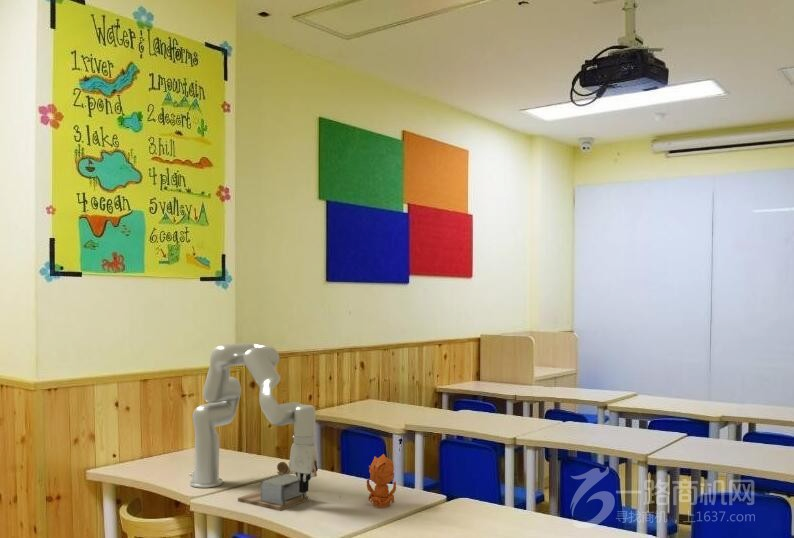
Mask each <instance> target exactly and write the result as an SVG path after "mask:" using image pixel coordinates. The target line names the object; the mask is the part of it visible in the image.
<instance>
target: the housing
mask: <svg viewBox="0 0 794 538" xmlns="http://www.w3.org/2000/svg"><path fill="white" fill-rule="evenodd" d="M260 490H261V501H264V502H268V503H273V504H277V505H282V506H283V505H284V501H286V500H288V499H291V498H294V497H297V496H300V495H303V497H304V498H305V497H306V496H307V492H305V493H302V492H299V481H298V477H297V476H296V475H295V474H294V475H293V474H290V473H289V474H282V475H279V474H278V475H276V476H273V477H270V478H268V479H264V480H260Z"/></svg>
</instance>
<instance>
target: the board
mask: <svg viewBox="0 0 794 538" xmlns="http://www.w3.org/2000/svg"><path fill="white" fill-rule="evenodd" d="M306 501H309V496H307V495H306V497H305V498H304V497H303V495H300V496H297V497H294V498H291V499H288V500H286V501H284V505H283V506H282V505H277V504H273V503H268V502H264V501H261V489H260V490H258V491H254V492H251V493H249V494H246V495H243V496H240V497H237V502H240V503H245V504H248V505H252V506H258V507H261V508H267V509H271V510H274V511H282V510H284V509H288V508H290V507H293V506H296V505H298V504H300V503H303V502H306Z"/></svg>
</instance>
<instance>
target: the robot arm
mask: <svg viewBox="0 0 794 538" xmlns="http://www.w3.org/2000/svg"><path fill="white" fill-rule="evenodd" d="M279 362H280V355H279V353H278V351H277V350H276V349H275V348H274V347H273V346H270V345H264V344H259V343H253V342H251V343H250V342H249V343H247V342H246V343H231V344H221V345H216V346H215V347H214V348H213V350H212V351H211V353H210V359H209V367H208V372H207V375H206V379H205V383H204V385H203V389H202V398H203V400H204V401H205V402H207V403H204V404H200V405H198V406H197V407H195V409H194V410H193V412H192V422H193V429H194V462H193V463H194V467H193V469H192V470H191V472H189V473H188V476H189V477H192V479H191V480H190V481H189V485H190V486H191V487H193V488H199V489H200V488H202V489H203V488H205V489H206V488H214V487H218V486H220V485H222V484H223V482H224V479H222V478H221V477H220V435H219V433H218V431H217V430H216V427H220V426H225V425H229V424H231V423H232V422H233V421H234V418H235V416H236V413H237V409H238V407H239V402H240V398H241V395H242V387H241V382H240V381H239V380H238V378H236V377H233V376H231V367H238V366H239V367H240V366H245V367H246V368H247V370H248V371H249V373H250V375H251V377H252V378H253V380H254V381H255V382H256V384H257V386H258V388H259V395H258V400H259V407H260V410H261V411H262V413H263V415H264V416H265V418H266V419H267V420H268V422H270V424H271V425H272V426H273V425H274V426H276V427H280V426H286V425H291V424H294V425H293V435H292V437H291V438H292V439H293V443H292V444H291V446H290V447H291V448H290V451H289V452H290V453H289V461H288V467H289V469H290V472H291V473H292V475H293V474H294V476H297V477H298V481H299V492H302V493H305V492H306V493H307V492H309V485H310V483H309V481H310V480H311V479H312V478H316V477H317V476H318V474H317V472H318V470H319V455H318V448H317V444H316V407H315V406H314V405H311V404H304V403H301V402H297V401H293V402H285V403H281V404H280V403H278V402H277V401H276V399H275V397H274V395H273V389H274V388H275V387H277V386H278V384H279V382H280V380H281V376H280V374H279V373H278V371H277V369H276V368H275V367H276V366H278V364H279Z"/></svg>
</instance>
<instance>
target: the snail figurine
mask: <svg viewBox="0 0 794 538" xmlns="http://www.w3.org/2000/svg"><path fill="white" fill-rule="evenodd" d="M276 469H277V471H276V473H277V474H278V476H279V475H282V474H289V475H290V472H291V470H290V469H289V464H287V463H286V462H284V461H280V462H279V463H277V465H276Z"/></svg>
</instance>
